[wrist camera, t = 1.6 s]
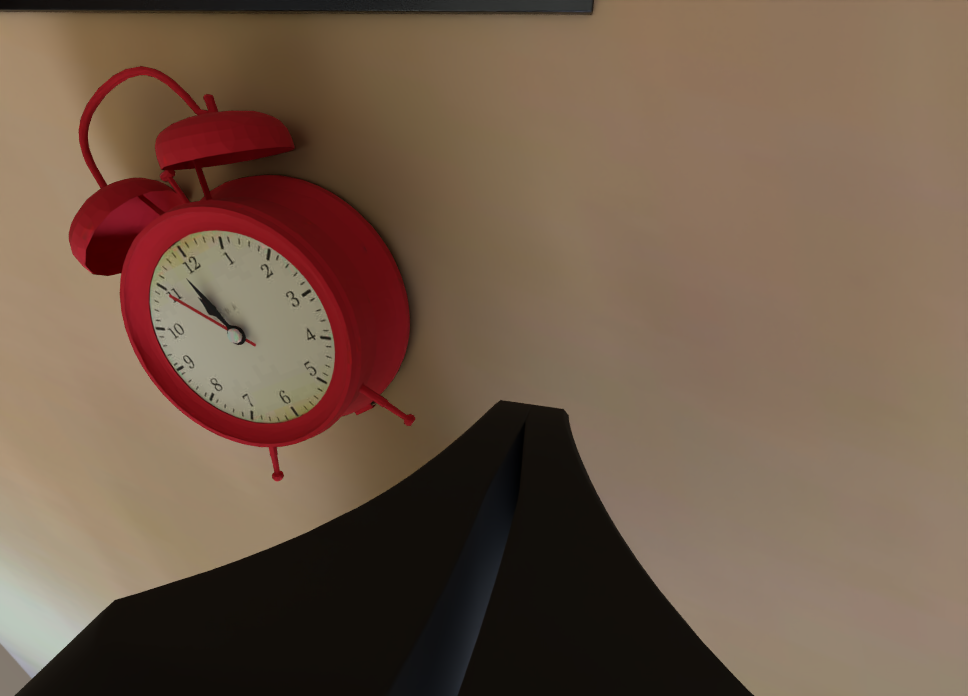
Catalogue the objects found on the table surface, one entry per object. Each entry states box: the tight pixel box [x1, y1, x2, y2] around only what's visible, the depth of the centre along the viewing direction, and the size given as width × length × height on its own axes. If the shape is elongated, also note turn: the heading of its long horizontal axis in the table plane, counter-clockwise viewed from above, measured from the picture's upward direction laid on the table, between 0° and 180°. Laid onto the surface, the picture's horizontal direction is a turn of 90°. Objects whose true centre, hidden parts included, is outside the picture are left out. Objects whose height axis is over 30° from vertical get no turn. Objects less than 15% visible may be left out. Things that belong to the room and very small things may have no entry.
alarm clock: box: [69, 66, 415, 481], centre depth 19 cm, size 10×6×15 cm
